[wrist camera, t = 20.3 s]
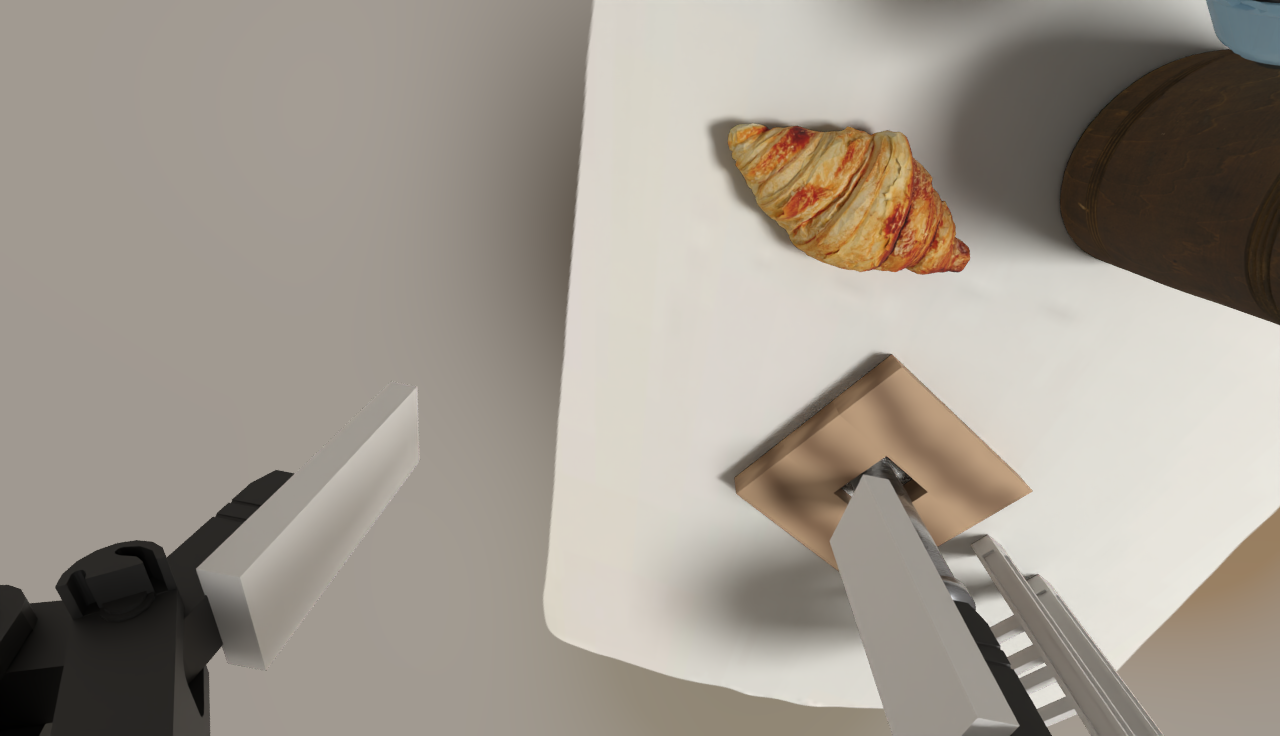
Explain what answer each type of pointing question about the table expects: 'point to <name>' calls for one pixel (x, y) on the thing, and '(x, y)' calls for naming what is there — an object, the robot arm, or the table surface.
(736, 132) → the croissant
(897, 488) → the link pin
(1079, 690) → the stool
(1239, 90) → the wooden container
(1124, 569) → the table surface
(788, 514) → the keeper block
